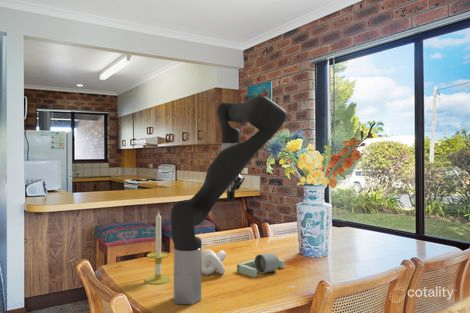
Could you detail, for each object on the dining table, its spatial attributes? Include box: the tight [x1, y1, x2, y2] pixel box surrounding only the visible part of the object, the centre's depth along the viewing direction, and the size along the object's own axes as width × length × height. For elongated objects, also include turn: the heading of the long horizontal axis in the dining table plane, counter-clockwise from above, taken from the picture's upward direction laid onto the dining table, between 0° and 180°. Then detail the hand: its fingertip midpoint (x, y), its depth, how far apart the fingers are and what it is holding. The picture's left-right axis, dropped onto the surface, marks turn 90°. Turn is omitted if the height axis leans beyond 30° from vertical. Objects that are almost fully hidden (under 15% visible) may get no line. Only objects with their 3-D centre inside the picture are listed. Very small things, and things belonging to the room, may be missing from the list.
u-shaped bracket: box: [236, 258, 286, 278], centre depth 154 cm, size 10×19×3 cm, turn 133°
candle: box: [144, 210, 172, 286], centre depth 140 cm, size 10×10×27 cm
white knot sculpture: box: [201, 249, 227, 276], centre depth 149 cm, size 11×12×9 cm
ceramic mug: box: [254, 252, 280, 274], centre depth 153 cm, size 11×8×8 cm
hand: (230, 200), depth 138 cm, fingers closed
